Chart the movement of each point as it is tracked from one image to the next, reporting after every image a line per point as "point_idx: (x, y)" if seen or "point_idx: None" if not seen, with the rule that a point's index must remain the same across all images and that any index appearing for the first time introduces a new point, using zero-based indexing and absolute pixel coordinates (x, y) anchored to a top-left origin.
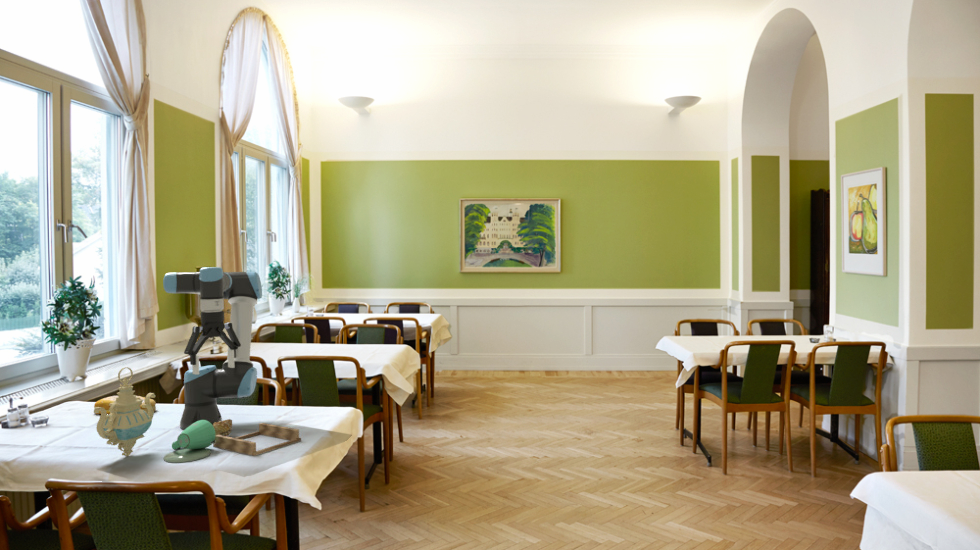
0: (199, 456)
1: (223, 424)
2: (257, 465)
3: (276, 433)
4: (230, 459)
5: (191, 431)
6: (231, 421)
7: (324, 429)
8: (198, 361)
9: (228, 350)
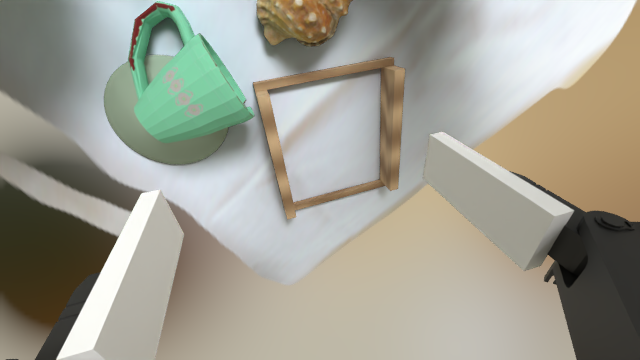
0: (193, 155)
1: (314, 33)
2: (263, 254)
3: (384, 131)
4: (243, 201)
5: (174, 135)
6: None
7: None
8: (158, 324)
9: (537, 222)
